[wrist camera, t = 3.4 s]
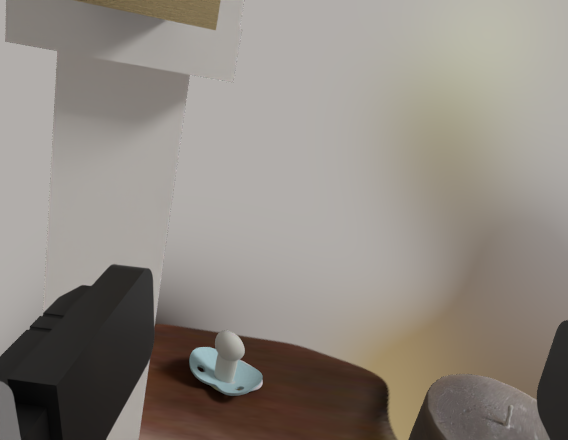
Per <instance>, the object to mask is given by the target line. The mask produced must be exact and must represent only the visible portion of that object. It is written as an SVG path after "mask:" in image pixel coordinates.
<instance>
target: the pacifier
mask: <svg viewBox="0 0 568 440" xmlns="http://www.w3.org/2000/svg"><path fill="white" fill-rule="evenodd" d="M215 347H216V349H213V348H209V347H201V348H197V349H195V350H193V352H192V353H191V355H190V360H189V364H190V369H191V371H192V373H193V374H194V376H195V377H196V378H197V379H198V380H200V381H201V382H203V383H205V384H208V385H210V386H211V387H213V388H214V389H216V390H218V391H220V392H221V393H223V394H226V395H230V396H238V395H243V394H246V393H248V392H250V391H254V390H257V389H259V388H260V387H261V386H262V384H263V380H262V378H263V377H262V373H260V371H258V370H257V369H255V368H253V367H252V366H250V365H249V364H247V363H245V362H243V361H241V360H239V359H240V358H242V357H243V355H244V352H245V349H244V345H243V343H242V341H241V339H240V338H239V337H238V336H237V335H236V334H234V333H233V332H230V331H227V330H224V331H221V332H219V334H218V335H217V337H216V340H215ZM197 367H201V368H203V369H204V371H205V372H201V371H199V370H198V368H197Z"/></svg>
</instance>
